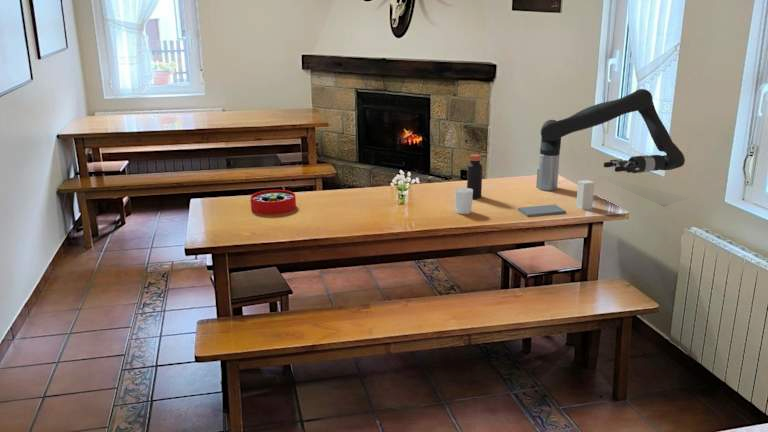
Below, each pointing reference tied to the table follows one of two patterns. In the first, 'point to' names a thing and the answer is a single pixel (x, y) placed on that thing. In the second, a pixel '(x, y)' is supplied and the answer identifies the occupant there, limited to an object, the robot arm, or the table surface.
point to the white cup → (463, 200)
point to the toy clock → (273, 202)
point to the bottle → (475, 175)
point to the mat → (541, 210)
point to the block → (585, 194)
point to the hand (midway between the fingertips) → (609, 167)
